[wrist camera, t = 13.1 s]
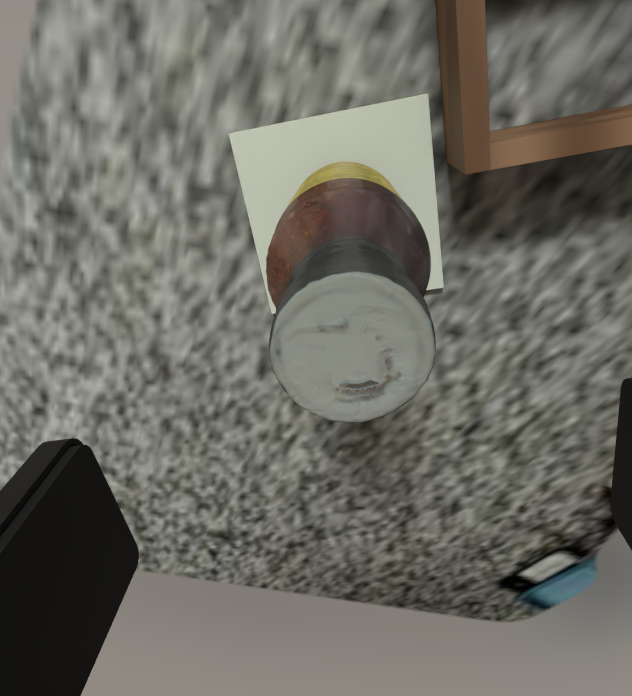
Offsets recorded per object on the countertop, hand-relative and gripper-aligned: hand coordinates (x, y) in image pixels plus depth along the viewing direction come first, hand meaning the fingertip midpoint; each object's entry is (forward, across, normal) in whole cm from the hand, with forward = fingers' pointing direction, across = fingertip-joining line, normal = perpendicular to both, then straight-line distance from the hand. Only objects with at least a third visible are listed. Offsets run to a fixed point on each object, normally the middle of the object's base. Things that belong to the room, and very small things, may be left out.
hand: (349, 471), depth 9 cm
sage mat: (+24, 0, +1) cm, 24 cm away
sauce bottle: (+24, 0, 0) cm, 24 cm away
